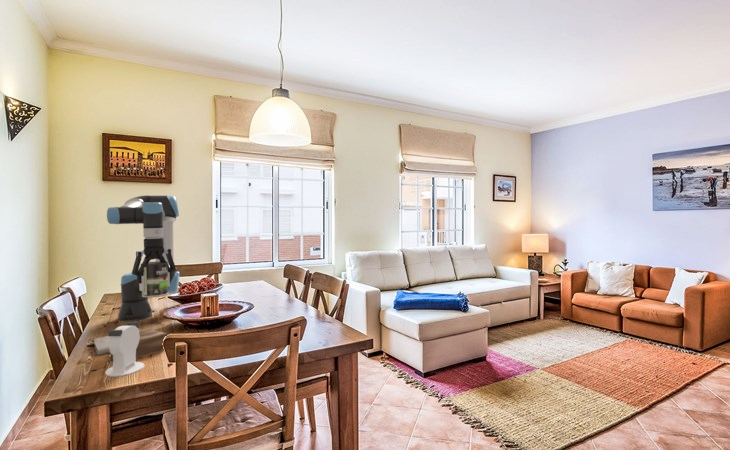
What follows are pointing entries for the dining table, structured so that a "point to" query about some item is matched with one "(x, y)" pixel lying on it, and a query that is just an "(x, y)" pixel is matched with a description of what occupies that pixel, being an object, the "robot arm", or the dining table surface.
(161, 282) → the coffee can
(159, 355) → the dining table surface
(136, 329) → the white small appliance
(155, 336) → the walnut box
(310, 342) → the dining table surface
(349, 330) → the dining table surface
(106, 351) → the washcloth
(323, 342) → the dining table surface
